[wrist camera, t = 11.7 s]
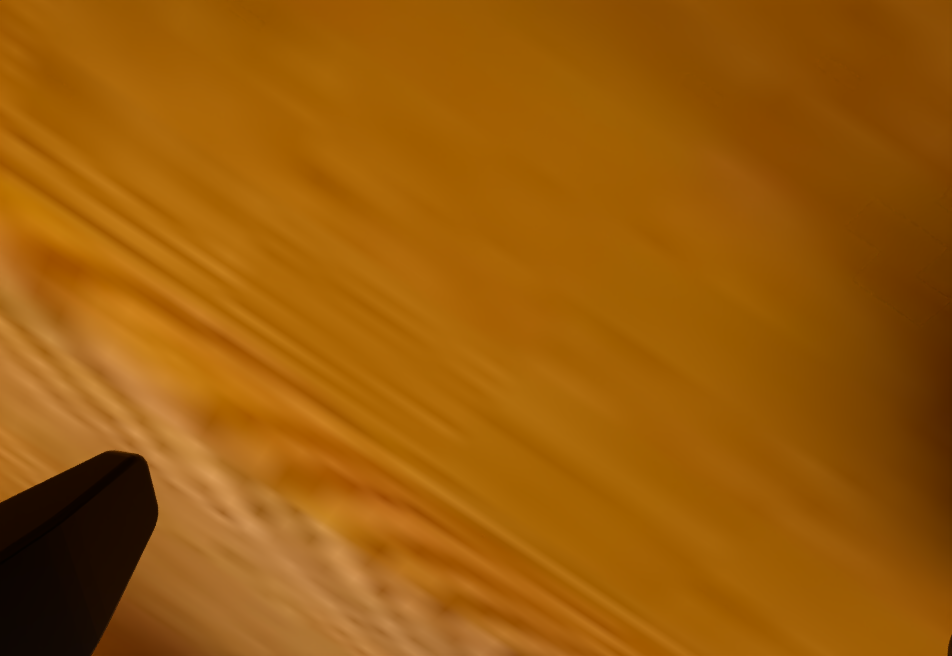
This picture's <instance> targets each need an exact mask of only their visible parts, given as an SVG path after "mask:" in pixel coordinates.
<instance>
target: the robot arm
mask: <svg viewBox="0 0 952 656" xmlns="http://www.w3.org/2000/svg"><path fill="white" fill-rule="evenodd" d="M157 518H158V504H157V500H156V496H155V492H154V488H153V484H152V479H151V475H150V471H149V467H148V464H147V461H146V460H145V459H144V458H143V456H141V455H139V454H135V453H128V452H122V451H106V452H104V453H101V454H99V455H97V456H95V457H93V458H91V459H89V460H87V461H85V462H83V463H81V464H79V465H77V466H75V467H73V468H71V469H69V470H66V471H64V472H62V473H60V474H58V475H56V476H54V477H52V478H50V479H48V480H46V481H44V482H42V483H40V484H38V485H36V486H34V487H32V488H29V489H27V490H25V491H23V492H21V493H19V494H17V495H15V496H13V497H11V498H9V499H7V500H5V501H3V502H1V503H0V656H91V655H92V653H93V651H94V650H95V648H96V646H97V644H98V643H99V641H100V639H101V637H102V635H103V633H104V631H105V629H106V628H107V626H108V624H109V622H110V620H111V618H112V616H113V613H114V611H115V609H116V607H117V605H118V603H119V601H120V599H121V597H122V595H123V593H124V591H125V589H126V586H127V584H128V582H129V580H130V578H131V576H132V574H133V572H134V570H135V568H136V566H137V564H138V562H139V560H140V557H141V555H142V553H143V551H144V549H145V547H146V545H147V543H148V541H149V539H150V537H151V535H152V533H153V531H154V528H155V526H156V522H157ZM948 656H952V635H951V638H950V641H949V646H948Z"/></svg>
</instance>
